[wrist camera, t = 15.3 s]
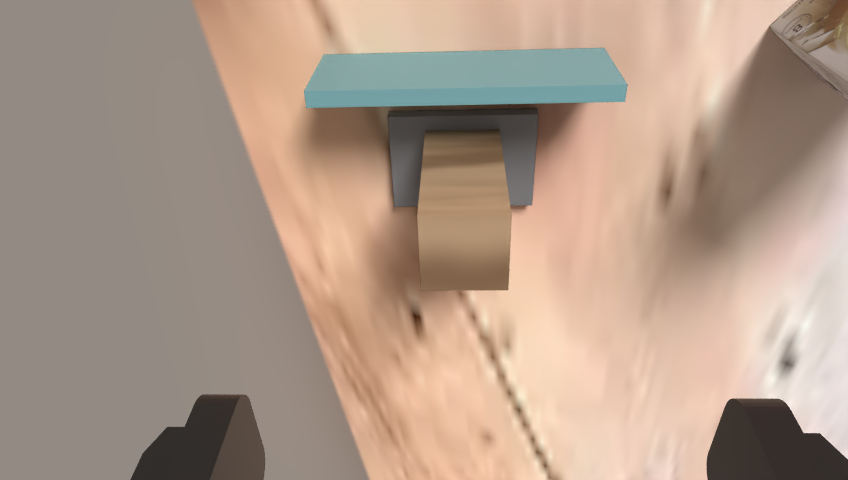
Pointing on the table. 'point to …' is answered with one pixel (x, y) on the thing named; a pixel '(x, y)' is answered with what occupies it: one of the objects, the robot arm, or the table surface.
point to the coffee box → (818, 38)
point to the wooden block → (463, 212)
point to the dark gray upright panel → (512, 124)
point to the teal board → (465, 78)
